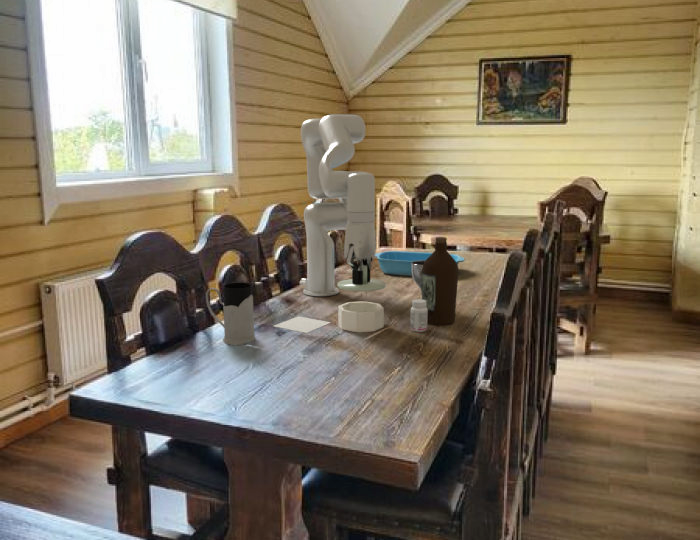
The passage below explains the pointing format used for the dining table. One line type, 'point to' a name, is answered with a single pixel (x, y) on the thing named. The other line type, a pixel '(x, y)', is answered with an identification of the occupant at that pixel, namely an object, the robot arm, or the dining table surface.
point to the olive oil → (440, 284)
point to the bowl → (360, 316)
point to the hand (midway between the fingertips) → (361, 282)
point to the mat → (302, 324)
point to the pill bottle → (418, 315)
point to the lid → (365, 286)
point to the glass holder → (236, 313)
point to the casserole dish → (404, 261)
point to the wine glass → (417, 273)
